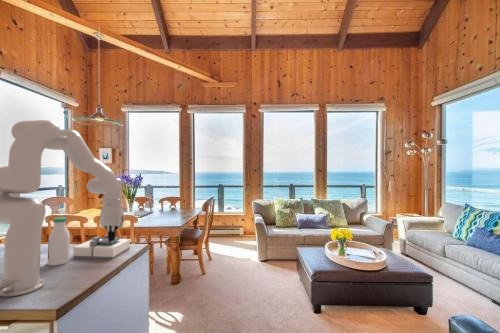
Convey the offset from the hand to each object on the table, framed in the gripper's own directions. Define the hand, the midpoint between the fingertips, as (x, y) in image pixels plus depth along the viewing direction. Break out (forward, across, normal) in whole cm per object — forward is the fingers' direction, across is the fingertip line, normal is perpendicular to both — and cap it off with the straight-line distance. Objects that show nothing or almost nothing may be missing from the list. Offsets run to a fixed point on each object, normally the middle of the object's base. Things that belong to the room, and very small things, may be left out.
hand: (111, 239), depth 128 cm
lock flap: (0, -2, 0) cm, 2 cm away
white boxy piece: (+7, -4, 0) cm, 8 cm away
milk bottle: (+7, -15, -15) cm, 23 cm away
